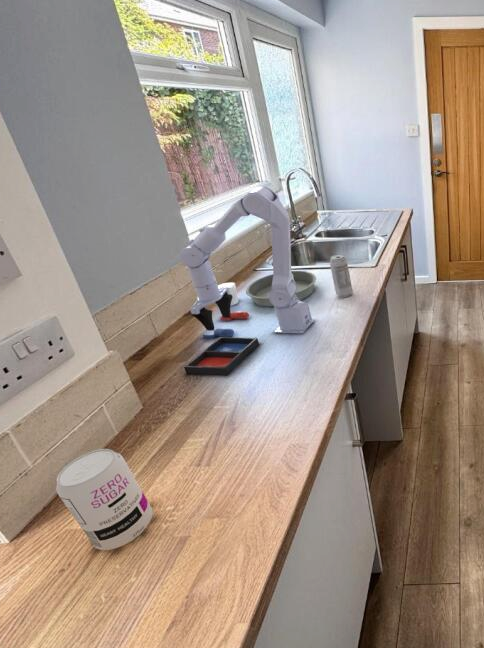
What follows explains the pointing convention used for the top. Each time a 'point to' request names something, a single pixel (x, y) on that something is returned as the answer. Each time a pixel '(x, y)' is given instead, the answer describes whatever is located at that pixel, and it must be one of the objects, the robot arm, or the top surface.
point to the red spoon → (236, 316)
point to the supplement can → (104, 498)
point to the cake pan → (264, 286)
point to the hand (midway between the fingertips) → (219, 323)
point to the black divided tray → (222, 356)
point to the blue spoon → (218, 333)
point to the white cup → (231, 291)
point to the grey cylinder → (341, 275)
